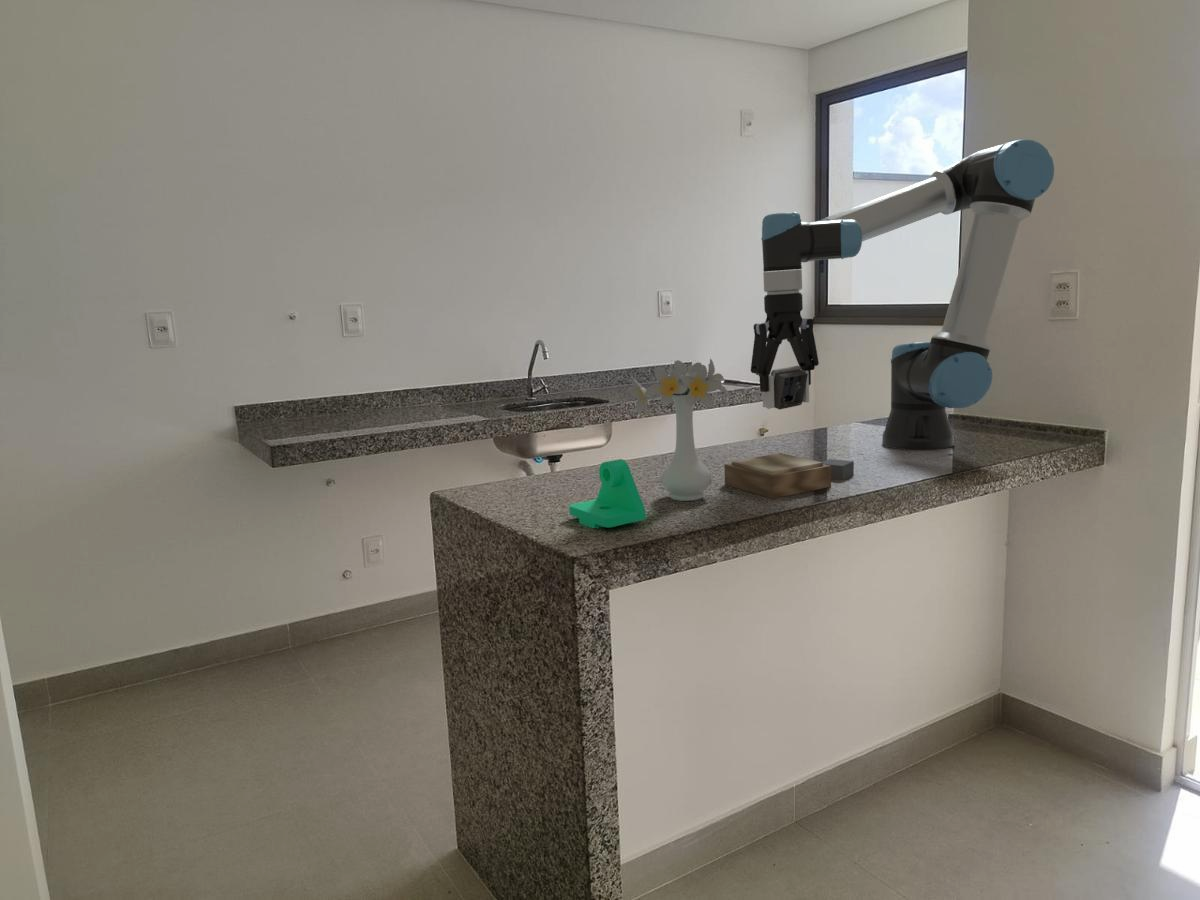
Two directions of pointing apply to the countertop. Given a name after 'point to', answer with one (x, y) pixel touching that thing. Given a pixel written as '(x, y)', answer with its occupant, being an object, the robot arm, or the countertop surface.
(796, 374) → the electrical switch
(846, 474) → the rubber block
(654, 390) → the flower vase
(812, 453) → the countertop surface
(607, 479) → the camera mount
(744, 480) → the wooden box
